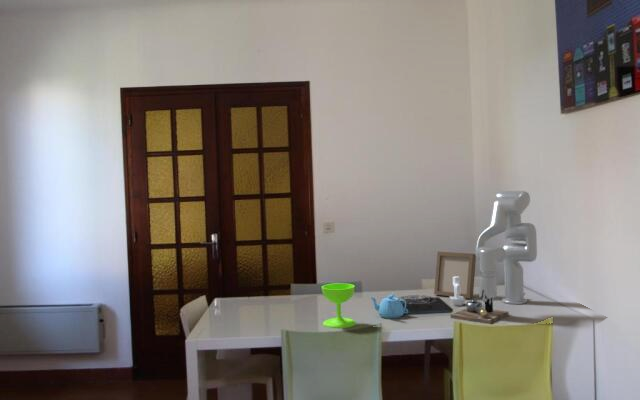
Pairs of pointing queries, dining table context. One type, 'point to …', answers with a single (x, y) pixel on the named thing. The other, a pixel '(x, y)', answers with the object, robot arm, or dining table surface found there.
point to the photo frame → (455, 273)
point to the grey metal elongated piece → (476, 307)
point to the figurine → (457, 293)
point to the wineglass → (338, 303)
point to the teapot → (390, 307)
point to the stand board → (478, 318)
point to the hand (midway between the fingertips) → (489, 311)
